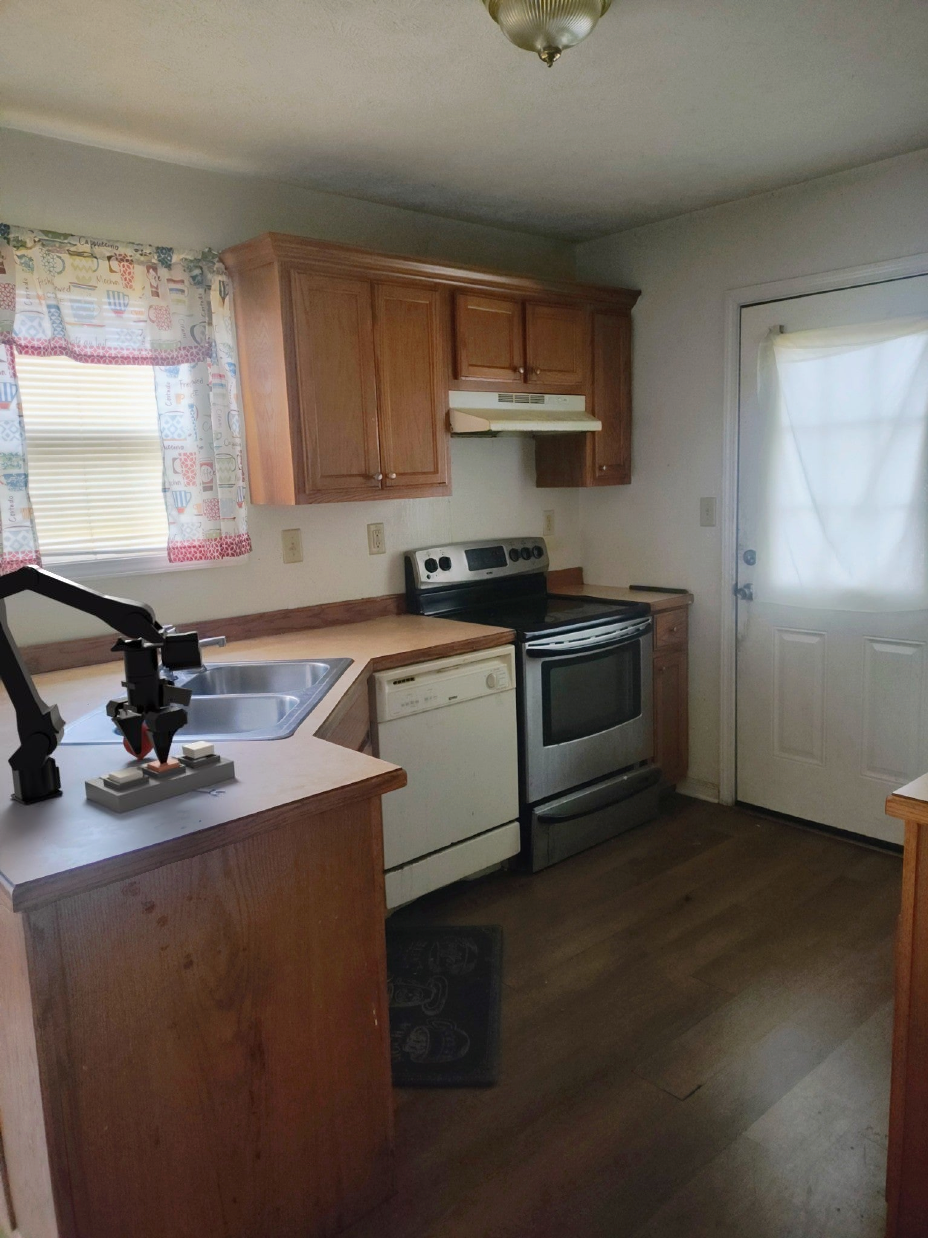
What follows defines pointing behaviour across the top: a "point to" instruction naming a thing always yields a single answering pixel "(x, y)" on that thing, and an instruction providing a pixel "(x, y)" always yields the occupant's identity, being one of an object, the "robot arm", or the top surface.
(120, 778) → the button left
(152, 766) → the button middle
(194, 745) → the button right
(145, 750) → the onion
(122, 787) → the button panel
